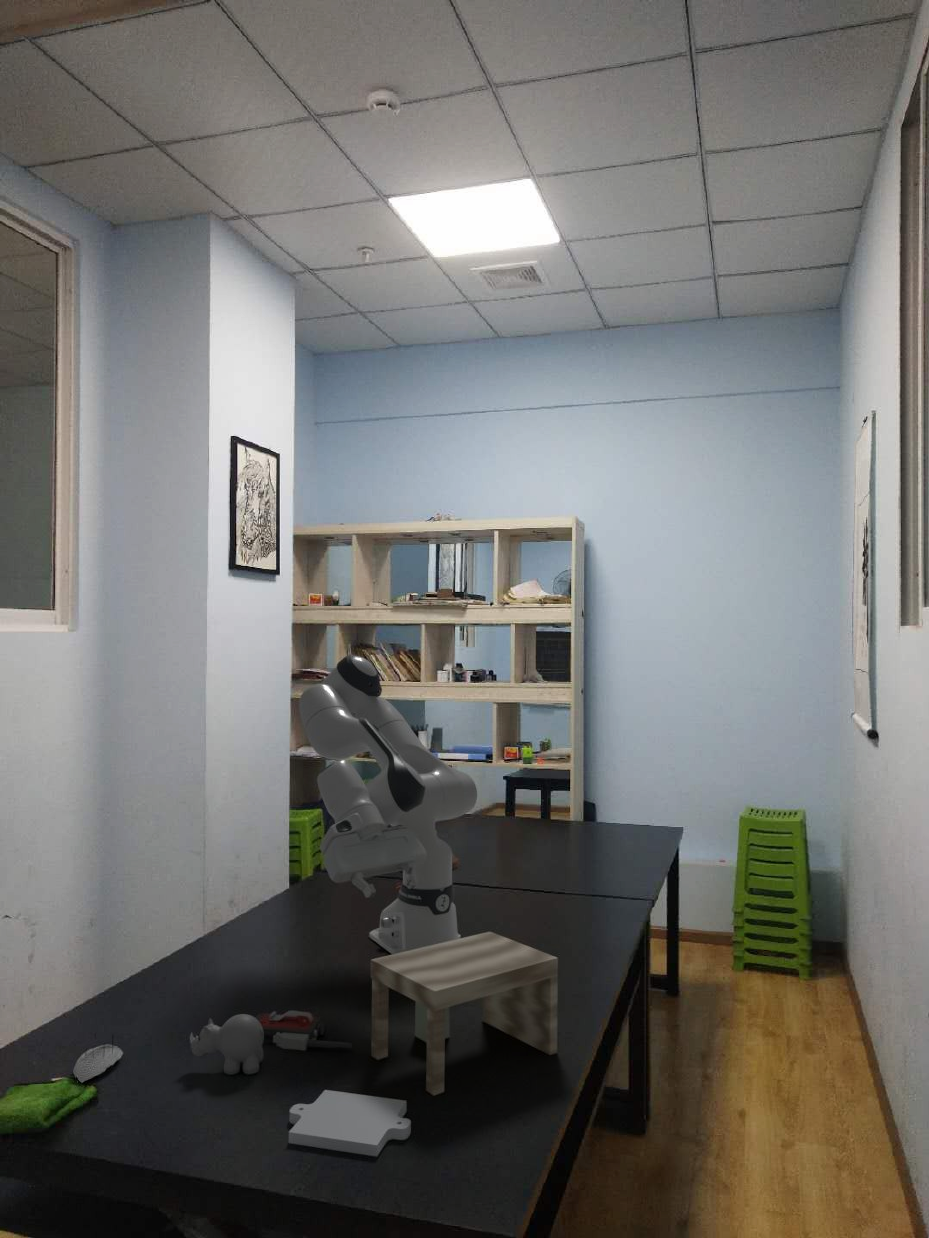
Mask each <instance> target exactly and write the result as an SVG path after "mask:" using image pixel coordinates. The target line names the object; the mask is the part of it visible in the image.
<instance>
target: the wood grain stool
mask: <svg viewBox="0 0 929 1238" xmlns="http://www.w3.org/2000/svg"><path fill="white" fill-rule="evenodd" d="M558 969H559V958H558V957H557V956H554V955H551V954H550V953H547V952H543V951H542V950H539V949H537V948H533V947H531V946H529V945H526V944H523V943H520V942H519V941H516V940H512V939H510V938H509V937H506V936H502V935H500V934H497V933H495V932H492V931H486V932H482V933H478V934H473V935H469V936H465V937H462V938H460V939H456V940H452V941H448V942H443V943H439V944H435V945H431V946H427V947H422V948H418V949H414V950H410V951H405V952H401V953H397V954H389V955H384V956H380V957H376V958H372V959H370V978H371V980H372V981H371V1044H370V1045H371V1048H370V1049H371V1050H370V1051H371V1052H370V1054H371V1057H373V1058H374V1059H376V1060H382V1059H384V1058H388V1057H389V1004H390V1003H389V1002H390V1001H389V999H390V998H389V997H390V995H389V994H390V993H389V992H390V990H389V989H392V990H393V991H395V992H397V993H399V994H402V996H403V995H404V996H405V997H407V998H409V999H410V1000H413V1001H414V1002H415V1001H416V1002H418V1003H420V1004H422V1005H424V1006H426V1007H427V1043H426V1063H425V1064H426V1069H425V1070H426V1071H425V1072H426V1074H425V1076H426V1077H425V1078H426V1079H425V1083H426V1084H425V1091H426V1092H428V1093H429V1094H431V1095H432V1096H437V1095H439V1094H442V1093H445V1065H446V1064H445V1062H446V1061H445V1060H446V1058H445V1057H446V1055H445V1054H446V1052H445V1051H446V1049H445V1048H446V1044H445V1043H446V1038H445V1008H447V1007H454V1006H457V1005H460V1004H464V1003H467V1002H470V1001H475V1000H477V999H482V1005H481V1006H482V1007H481V1008H482V1011H481V1013H482V1014H481V1015H482V1017H481V1018H482V1019H481V1020H482V1022H483V1023H485V1024H488V1025H489V1026H491V1027H493V1028H495V1029H498V1030H499V1031H501V1032H504V1033H505V1034H508V1035H510V1037H513V1038H515V1039H517V1040H520V1041H521V1042H523V1043H525V1044H527V1045H529V1046H531V1047H533V1048H535V1049H537V1050H539V1051H541V1052H543V1053H545V1054H547V1055H549V1056H551V1055H555V1054H557V1053H558V995H559V994H558V992H559V991H558V989H559V985H558V981H559V980H558V979H559V976H558V975H559V970H558Z"/></svg>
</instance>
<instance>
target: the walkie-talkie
mask: <svg viewBox="0 0 929 1238" xmlns="http://www.w3.org/2000/svg"><path fill="white" fill-rule="evenodd" d="M255 1018H256V1019H257V1020H258V1021H259V1022H260V1024H261V1026H262V1028H263V1032H264V1041H263V1043H266V1042H267V1043H268V1042H272V1043H271V1044H275V1046H277V1047H279V1048H281V1049H283V1050H284V1049H285V1050H295V1051H297V1050H298V1051H302V1052H305V1051H307V1049H308V1048H328V1049H336V1048H346V1049H352V1048H353V1043H352V1042H342V1041H330V1040H317V1038H318V1037H319V1036H323V1035H324V1032H325V1027H326V1026H325V1023H324V1022H323V1021H322V1020H323V1019H322V1018H321V1017H317V1016H316V1017H315V1016H314V1015H313V1014H312V1012H310V1011H299V1010H288V1011H287V1012H285V1013H283V1014H277V1011H275V1010H274V1011H272V1012H271V1013H258V1014H257V1015H256V1016H255Z"/></svg>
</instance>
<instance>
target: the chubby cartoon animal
mask: <svg viewBox="0 0 929 1238" xmlns="http://www.w3.org/2000/svg"><path fill="white" fill-rule="evenodd" d="M255 1017H256V1016H255ZM255 1017H254V1016H253V1015H251V1014H247V1013H246V1014H245V1013H241V1014H236V1015H233V1016H231V1017H230V1018H228V1019H227V1020H226V1021H225V1023H223V1025H222V1026H218V1025H217V1024H214V1022H213V1020H212V1018H208V1024H207V1025H204V1026H203V1028H202V1029H201V1031H200V1033H199V1036H198V1035H195V1037H194V1034H193V1032H191V1033H190V1035H189V1042H190V1049H191V1052H192V1054H193V1055H195V1056H196V1057H200V1056H201V1057H202V1056H204V1055H205V1054H206V1053H215V1052H217V1051H219V1052H221V1054H222V1055H223V1056H224V1058H225V1060H224V1064H223V1072H224V1074H226V1075H228V1076H229V1075H231V1076H232V1075H236V1074H238V1073H240V1071H241V1066H242V1072H243V1074H245V1075H253V1074H256V1073H258V1072H259V1070H260V1063H261V1062H262V1061H263V1060H264V1049H263V1044H264V1042H263V1041H264V1032H263V1028H262V1026H261V1024H260V1022H259V1021H258V1020H257V1019H256V1018H255Z"/></svg>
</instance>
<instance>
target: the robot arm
mask: <svg viewBox="0 0 929 1238" xmlns="http://www.w3.org/2000/svg"><path fill="white" fill-rule="evenodd" d="M382 691H383V688H382V685H381V679H380V675H379V671H378V670H377V668H376V667H375V665H374V664H373V663H372V662H371V661H369V660H368V659H367V658H365V657H363V656H362V655H359V654H348V655H346V656H345V657H343V658H342V659H341V660H340V661H338V662H337V664H336V666H335V667H334V668H333V669H332V671H331V672H329V674H328V675H327V676H326V677H325V678H324V680H323V681H322V682H321V683H317V684H316V683H315V684H313V685H311V686H309V687H307V688H306V689H305V690H304V691H303V692H302V693H301V695H300V697H299V700H298V707H299V715H300V720H301V723H302V726H303V727H302V728H303V729H304V732H305V735H306V738H307V740H308V742H309V744H310V745H311V747H312V748H313V750H314V752H316V754H318V755H319V756H321V757H322V758H325V759H329V760H337V761H335V762H332V763H330V764H329V765H328V766H326V767H325V768H324V769H322V770H321V771H320V773H318V775H317V777H316V778H317V779H316V781H317V786H318V790H319V792H320V796H321V798H322V800H323V804H324V806H325V808H326V811H327V812H328V814H329V815H330V816H331V817H332V818H333V821H334V824H332V825H331V826H330V827H329V829H328V830H327V831H326V833H325V835H324V836H323V839H322V841H321V843H320V845H319V850H320V851H321V853H322V854H324V855H323V862H324V863H323V864H324V866H325V869H326V871H327V874H328V876H329V878H330V880H332V881H333V882H334V883H337V884H339V883H346V882H349V881H351V883H352V885H354V887H356V888H357V889H358V890H359V891H362V893H363V895H364V897H365V898H366V899H367V898H368V899H369V898H373V897H375V895H376V893H377V891H376V888H375V886H374V884H373V883H368V882H367V881H366V880H365V878H371V877H376V876H382V875H386V874H392V873H397V872H401V871H402V870H403V872H402V882H399V883H396V886H397V887H396V889H399V890H398V895H397V898H396V899H395V900H394V901H393V902H391V903H390V904H389V905H388V906H386V907H385V908H384V909H383V910H382V911H381V913H380V917H379V918H380V919H379V927H378V928H375V929H373V930H371V931H370V932H369V933H368V937H369V938H370V939H371V940H372V941H374V942H376V944H378V945H379V946H380V947H382V948H383V949H385V950H386V951H387V952H389V953H390V955H393V954H397V953H401V952H405V951H410V950H414V949H418V948H422V947H427V946H431V945H435V944H439V943H443V942H448V941H452V940H456V939H460V938H461V934H459V932H458V923H457V922H458V918H457V909H456V907H457V906H456V905H455V904H454V902H453V901H454V898H455V897H454V896H455V888H454V887H455V886H454V882H453V870H452V854H453V852H452V851H453V850H452V848H451V847H450V845H449V844H448V843H447V842H445V840H443V839H440V838H439V837H438V833H437V834H436V831H437V830H436V822H441V821H446V820H453V819H457V818H459V817H461V816H463V815H466V814H467V813H469V812H471V811H472V810H473V809H474V808H475V806H476V803H477V800H478V789H477V788H478V787H477V785H476V783H475V781H474V779H473V778H472V777H471V775H469V774H468V773H466V772H463V771H461V770H457V768H456V769H455V768H454V767H451V766H450V765H448V764H447V763H445V762H444V761H442V759H440V758H439V757H438V756H436V755H435V754H434V753H433V752H431V751H430V750H429V749H428V748H427V747H426V746H425V745H424V744H423V743H422V741H421V740H420V738H419V737H418V736H417V735H416V733H415V732H414V730H413V729H412V728H411V726H410V725H409V723H408V722H407V721H406V719H405V718H404V716H403V715H402V714H401V713H400V712H399V710H398V709H397V708H396V707H395V706H394V705H393V704H392V703H391V702H390V701H389V700H387V699H385V698H384V697H381V695H382ZM368 752H370V754H371V755H372V757H373V758H374V760H375V761H376V764H377V765H378V766H379V768H380V769H381V770H380V772H379V773H378V774H377V775H375V776H374V777H373V778H372V779H370V780H369V781H368V782H366V783H365V782H364V781H363V779H362V777H361V776H360V774H359V773H358V771H357V770H356V768H355V767H354V765H352V763H351V761H349V760H347V759H349V758H351V757H354V756H356V755H360V754H363V753H368Z"/></svg>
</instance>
